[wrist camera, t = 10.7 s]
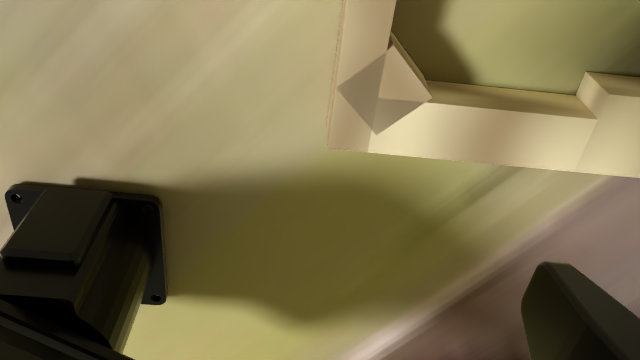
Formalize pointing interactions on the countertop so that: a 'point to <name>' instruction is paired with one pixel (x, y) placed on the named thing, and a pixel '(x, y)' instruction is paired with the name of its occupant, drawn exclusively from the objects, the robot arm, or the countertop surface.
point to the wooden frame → (472, 109)
